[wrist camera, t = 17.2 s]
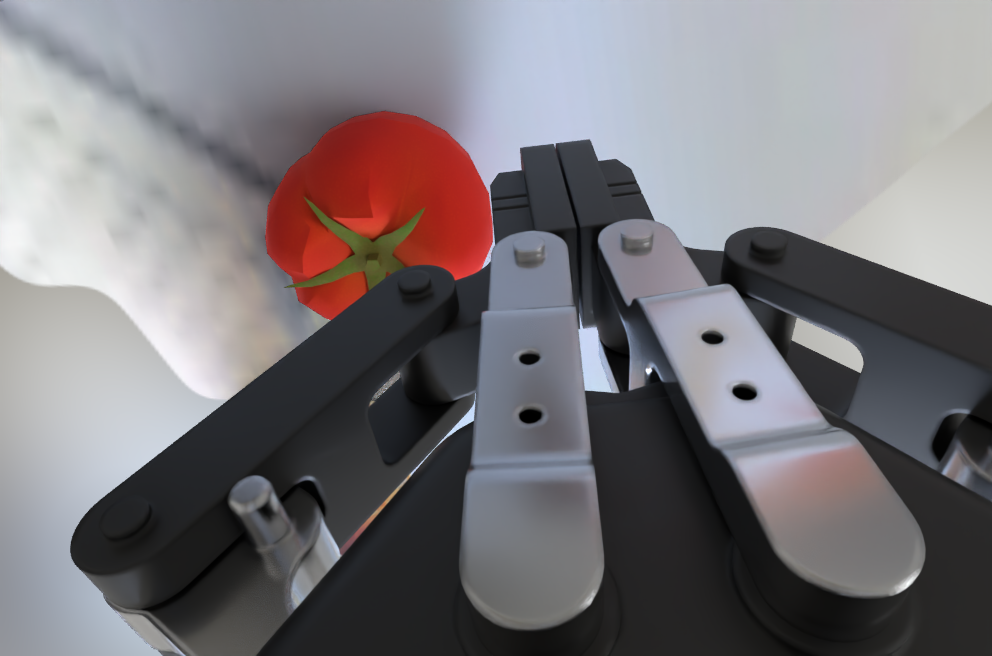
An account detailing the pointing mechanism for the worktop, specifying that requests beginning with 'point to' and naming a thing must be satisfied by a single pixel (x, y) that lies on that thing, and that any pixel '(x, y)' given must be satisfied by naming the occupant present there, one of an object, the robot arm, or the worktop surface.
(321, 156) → the tomato
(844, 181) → the worktop surface
